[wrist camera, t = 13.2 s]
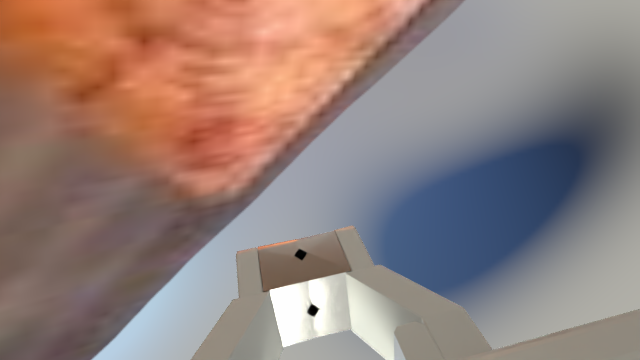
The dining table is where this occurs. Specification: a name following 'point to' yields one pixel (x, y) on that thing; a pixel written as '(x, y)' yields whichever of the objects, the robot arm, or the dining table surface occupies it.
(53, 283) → the dining table surface
